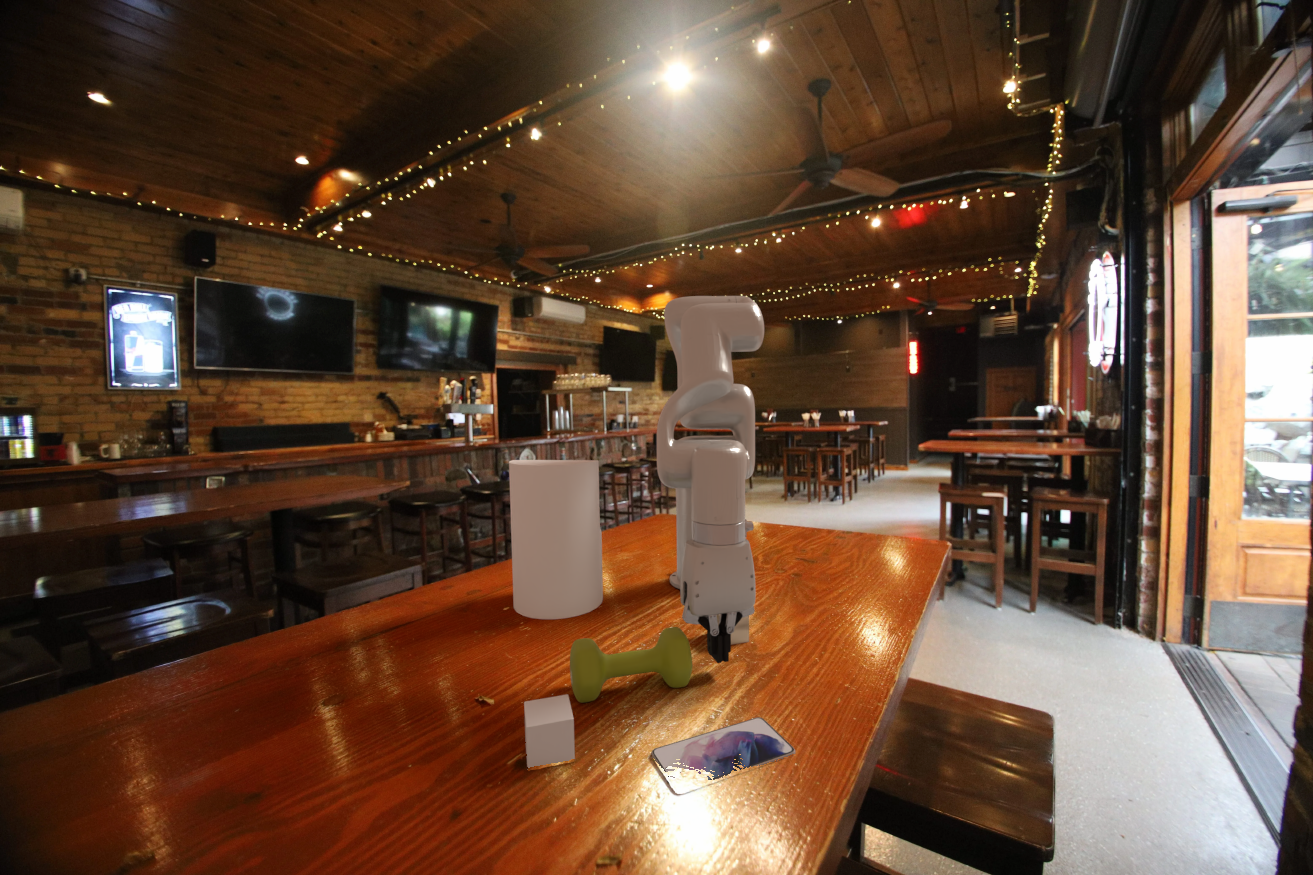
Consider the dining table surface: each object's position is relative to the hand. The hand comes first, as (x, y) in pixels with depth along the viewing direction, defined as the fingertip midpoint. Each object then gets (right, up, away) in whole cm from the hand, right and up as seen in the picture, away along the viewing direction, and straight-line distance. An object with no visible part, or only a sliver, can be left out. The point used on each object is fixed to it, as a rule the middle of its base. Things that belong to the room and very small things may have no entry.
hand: (719, 657), depth 75 cm
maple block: (+3, -2, +12) cm, 12 cm away
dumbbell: (-12, -3, -3) cm, 13 cm away
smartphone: (-2, -4, -17) cm, 18 cm away
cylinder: (-28, -1, +28) cm, 40 cm away
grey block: (-21, -4, -16) cm, 27 cm away
